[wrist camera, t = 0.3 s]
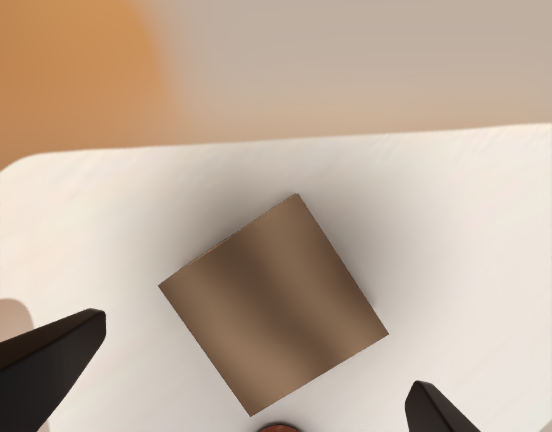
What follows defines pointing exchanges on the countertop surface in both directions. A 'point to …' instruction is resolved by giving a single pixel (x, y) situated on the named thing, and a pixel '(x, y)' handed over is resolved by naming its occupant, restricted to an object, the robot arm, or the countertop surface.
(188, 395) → the countertop surface
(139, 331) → the countertop surface
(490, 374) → the countertop surface
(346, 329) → the walnut block
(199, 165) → the countertop surface
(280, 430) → the supplement bottle
